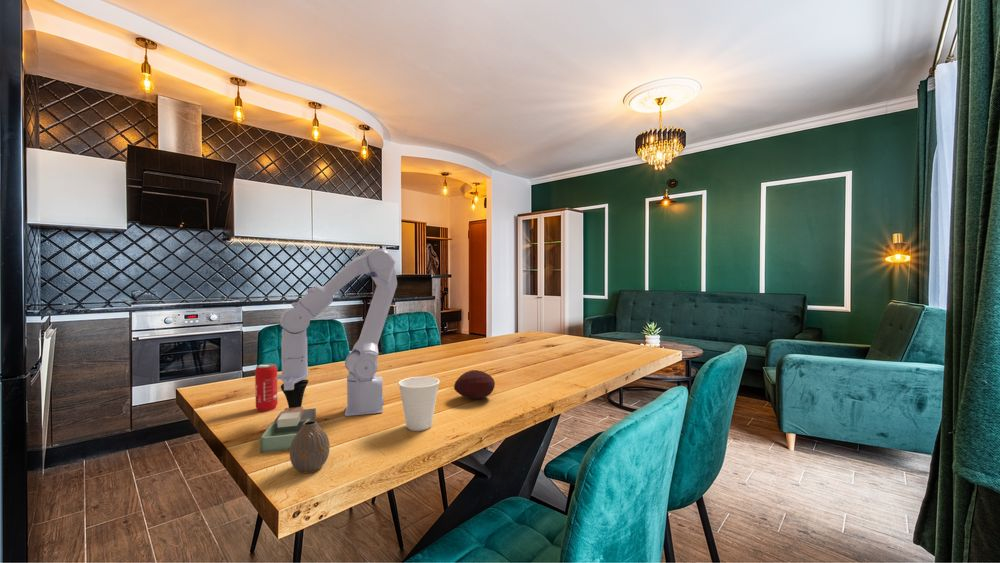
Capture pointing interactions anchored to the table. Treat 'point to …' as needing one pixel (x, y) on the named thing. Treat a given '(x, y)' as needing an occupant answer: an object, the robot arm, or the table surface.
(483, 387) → the dark brown oval lump
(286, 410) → the tile terracotta
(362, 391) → the robot arm
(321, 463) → the vase
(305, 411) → the ledge
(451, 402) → the table surface
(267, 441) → the box
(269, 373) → the beverage can
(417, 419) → the cup
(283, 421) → the tile ivory
